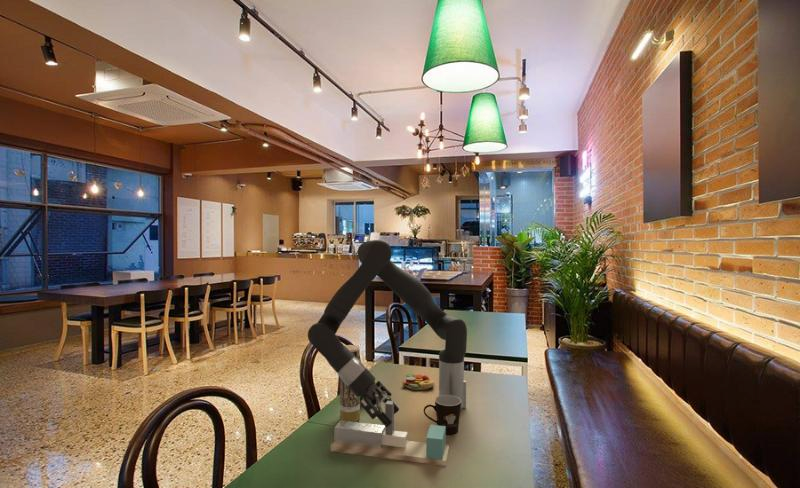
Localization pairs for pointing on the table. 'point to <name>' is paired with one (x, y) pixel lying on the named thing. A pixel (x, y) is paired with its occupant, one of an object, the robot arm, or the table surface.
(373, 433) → the metal sleeve
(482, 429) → the table surface
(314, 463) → the table surface
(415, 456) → the track board
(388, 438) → the white bar
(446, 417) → the coffee mug
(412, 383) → the toy food set
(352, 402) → the paper tube
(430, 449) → the teal socket
